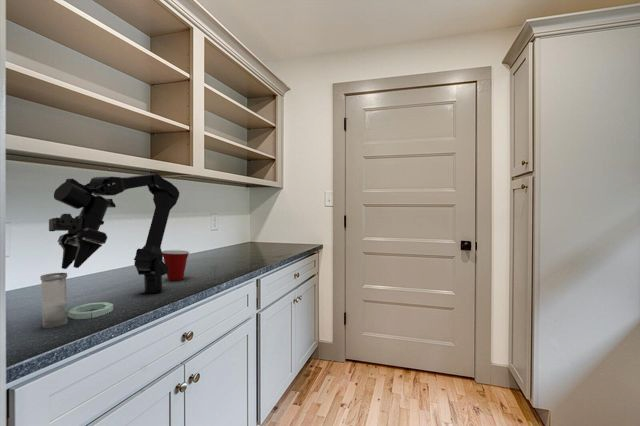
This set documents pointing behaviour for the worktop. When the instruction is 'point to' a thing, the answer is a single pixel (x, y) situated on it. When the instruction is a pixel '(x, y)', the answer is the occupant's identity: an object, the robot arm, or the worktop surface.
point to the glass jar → (54, 299)
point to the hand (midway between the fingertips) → (69, 268)
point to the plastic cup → (175, 263)
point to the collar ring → (79, 314)
